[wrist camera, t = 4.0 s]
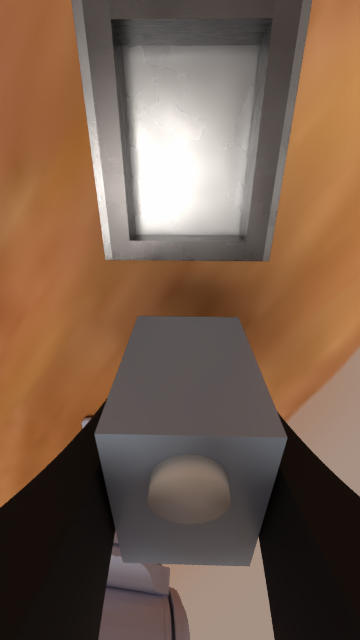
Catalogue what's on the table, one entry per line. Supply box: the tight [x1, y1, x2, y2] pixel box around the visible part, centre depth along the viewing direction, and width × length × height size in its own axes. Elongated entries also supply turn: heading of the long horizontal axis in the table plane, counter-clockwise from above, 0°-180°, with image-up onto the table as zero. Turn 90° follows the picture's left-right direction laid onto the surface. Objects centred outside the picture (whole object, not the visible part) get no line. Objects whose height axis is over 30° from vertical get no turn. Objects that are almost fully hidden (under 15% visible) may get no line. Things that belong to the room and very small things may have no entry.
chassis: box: [72, 0, 312, 261], centre depth 12 cm, size 11×10×2 cm
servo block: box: [94, 316, 288, 566], centre depth 9 cm, size 6×4×6 cm, turn 0°
